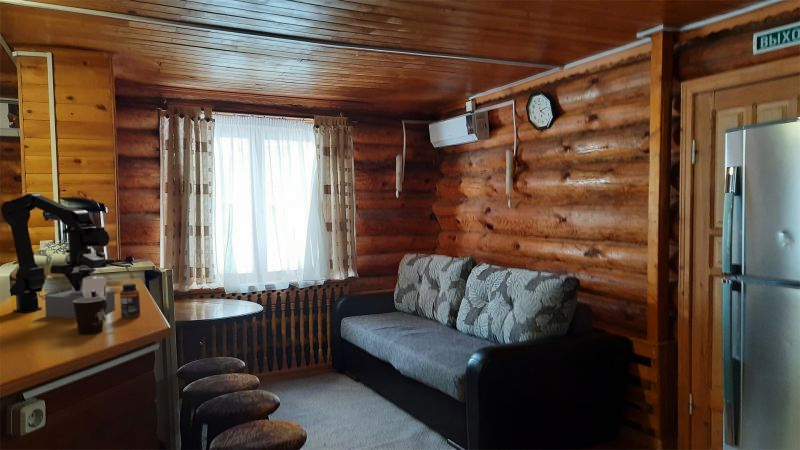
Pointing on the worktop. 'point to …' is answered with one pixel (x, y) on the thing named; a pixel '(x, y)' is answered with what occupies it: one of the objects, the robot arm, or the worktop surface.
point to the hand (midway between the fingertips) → (80, 290)
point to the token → (79, 289)
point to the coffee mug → (90, 314)
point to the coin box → (71, 304)
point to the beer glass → (94, 288)
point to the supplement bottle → (130, 301)
